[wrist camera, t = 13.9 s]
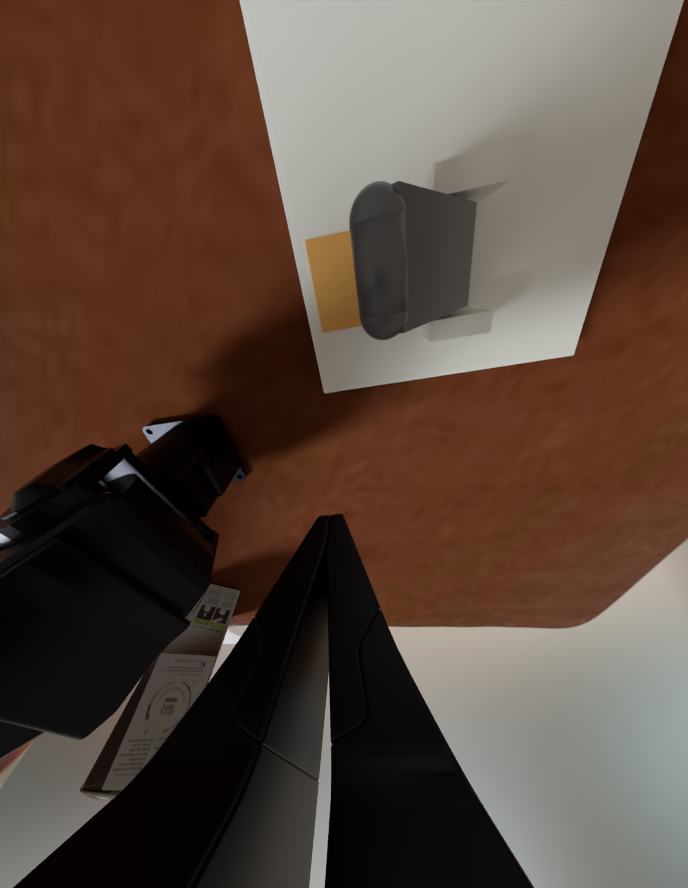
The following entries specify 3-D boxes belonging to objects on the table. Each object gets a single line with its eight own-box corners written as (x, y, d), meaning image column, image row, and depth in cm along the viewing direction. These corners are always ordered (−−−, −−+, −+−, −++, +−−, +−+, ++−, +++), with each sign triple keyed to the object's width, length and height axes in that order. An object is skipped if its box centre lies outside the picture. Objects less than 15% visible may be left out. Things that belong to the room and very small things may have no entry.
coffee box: (193, 578, 32) (75, 793, 18) (242, 589, 33) (167, 798, 19) (187, 609, 36) (89, 801, 23) (230, 618, 38) (163, 806, 24)
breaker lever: (441, 311, 14) (353, 345, 10) (444, 211, 12) (332, 191, 7) (474, 307, 13) (393, 345, 8) (485, 196, 11) (382, 163, 6)
